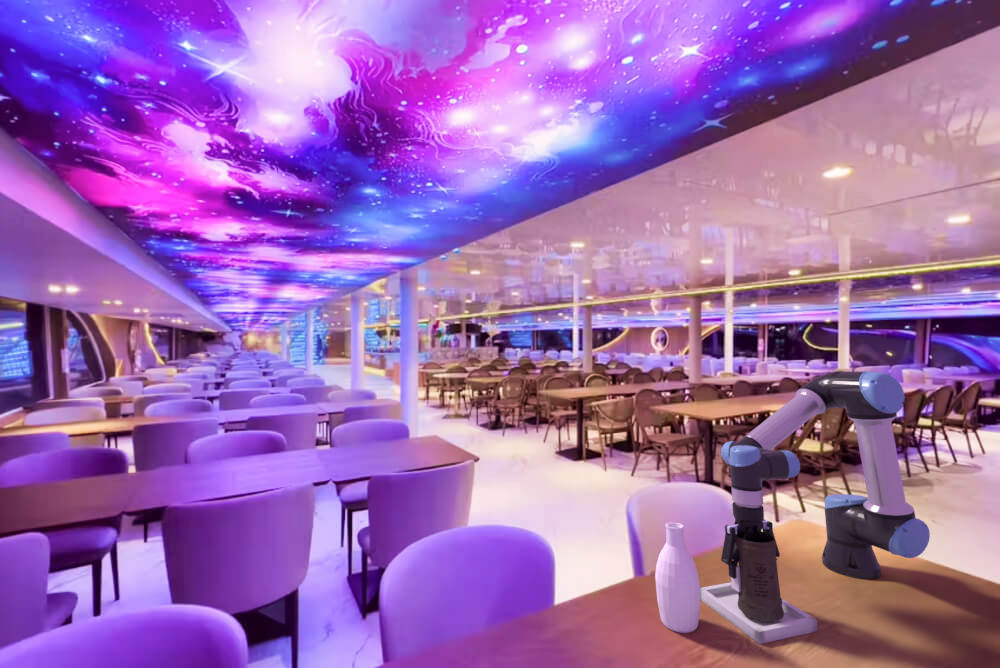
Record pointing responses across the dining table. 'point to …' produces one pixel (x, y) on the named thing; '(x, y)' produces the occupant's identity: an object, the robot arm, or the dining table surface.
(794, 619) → the tray
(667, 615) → the bottle
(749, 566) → the beer stein
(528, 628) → the dining table surface
